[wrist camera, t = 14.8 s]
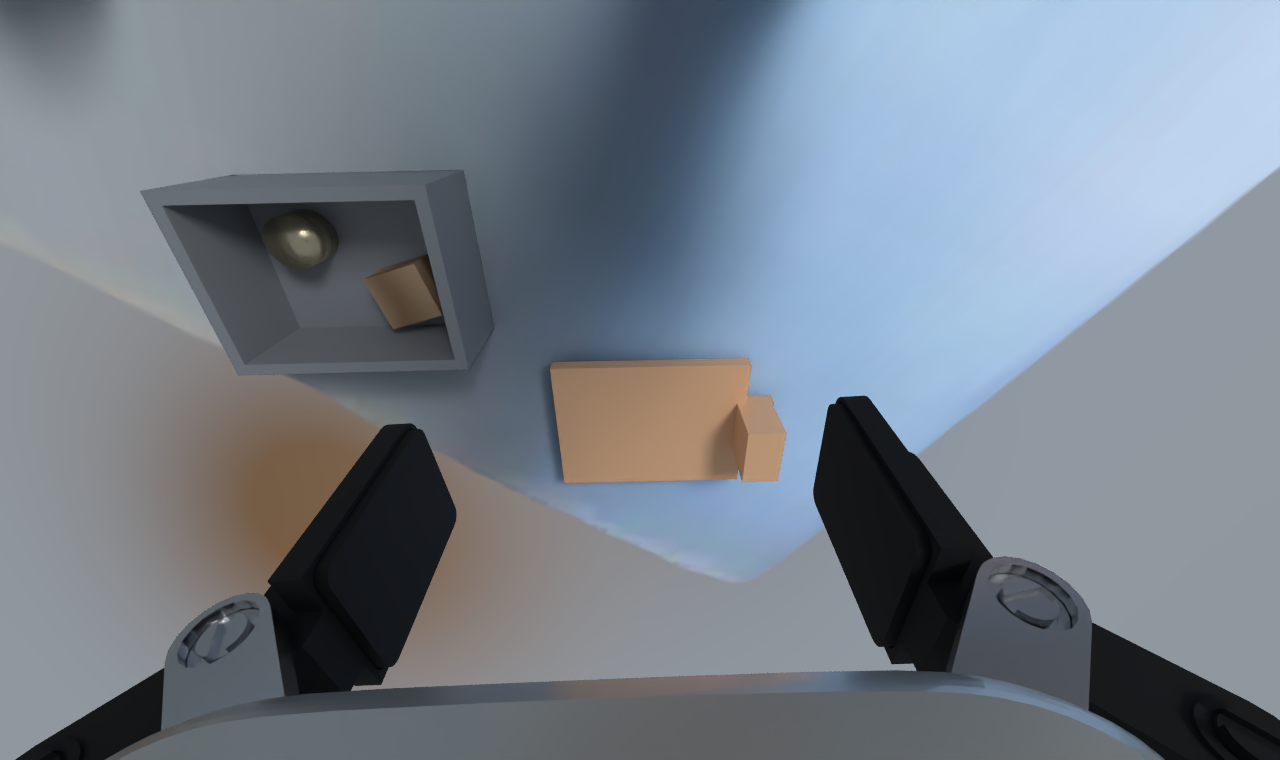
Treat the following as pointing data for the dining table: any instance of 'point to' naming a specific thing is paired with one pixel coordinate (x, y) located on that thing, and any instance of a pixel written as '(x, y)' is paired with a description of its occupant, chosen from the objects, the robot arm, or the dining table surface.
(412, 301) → the walnut block
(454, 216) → the grey tray
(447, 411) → the dining table surface
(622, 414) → the lid
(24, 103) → the dining table surface
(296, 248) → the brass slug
